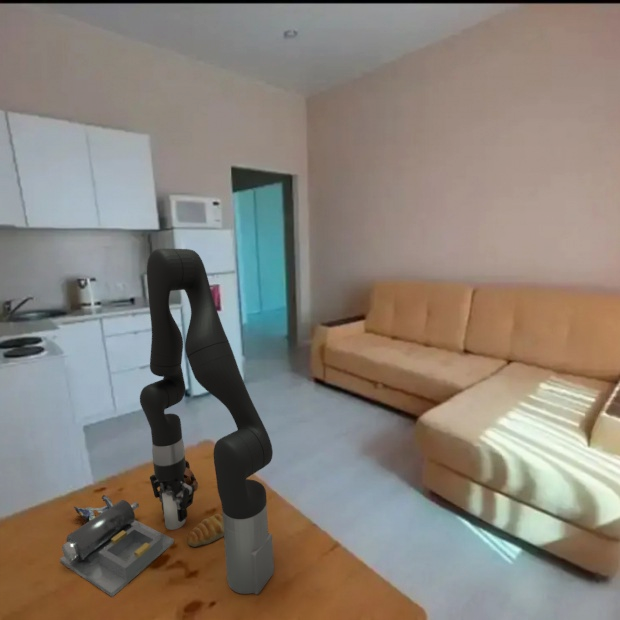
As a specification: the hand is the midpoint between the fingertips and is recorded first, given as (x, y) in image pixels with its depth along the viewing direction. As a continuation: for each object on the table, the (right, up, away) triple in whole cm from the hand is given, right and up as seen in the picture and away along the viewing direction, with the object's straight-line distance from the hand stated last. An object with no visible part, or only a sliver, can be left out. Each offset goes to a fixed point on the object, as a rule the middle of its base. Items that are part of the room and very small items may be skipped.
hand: (174, 515), depth 97 cm
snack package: (-21, -3, +3) cm, 21 cm away
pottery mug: (-3, 0, +15) cm, 15 cm away
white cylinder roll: (0, -2, 0) cm, 2 cm away
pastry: (+10, -3, -4) cm, 11 cm away
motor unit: (-10, -4, -9) cm, 14 cm away
